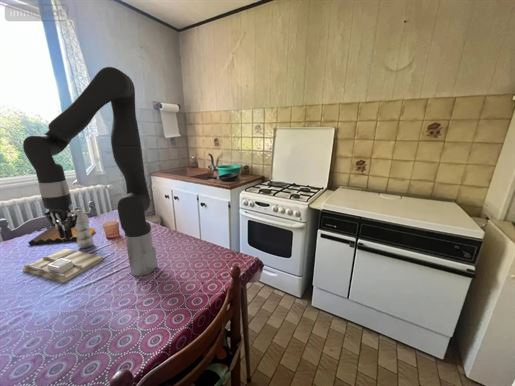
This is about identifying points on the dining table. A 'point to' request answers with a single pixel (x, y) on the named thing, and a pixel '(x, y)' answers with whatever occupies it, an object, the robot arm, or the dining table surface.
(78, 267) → the board
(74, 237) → the pan flute
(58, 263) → the cream rectangular block
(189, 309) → the dining table surface
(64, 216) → the robot arm
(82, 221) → the plastic bottle
